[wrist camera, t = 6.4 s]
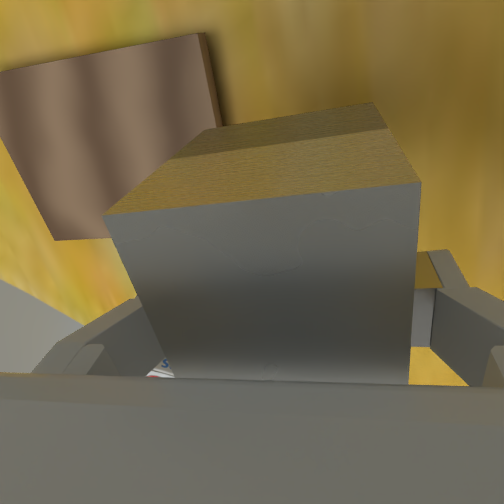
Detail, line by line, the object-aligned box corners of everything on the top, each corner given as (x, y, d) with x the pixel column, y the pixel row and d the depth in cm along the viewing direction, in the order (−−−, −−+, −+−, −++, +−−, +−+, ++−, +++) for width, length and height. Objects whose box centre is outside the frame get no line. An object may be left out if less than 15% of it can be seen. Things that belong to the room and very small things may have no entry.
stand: (210, 32, 24) (197, 33, 21) (244, 214, 31) (237, 231, 29) (0, 73, 28) (-31, 77, 26) (73, 225, 35) (54, 240, 33)
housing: (372, 102, 10) (421, 181, 5) (374, 317, 14) (401, 483, 9) (204, 129, 11) (101, 215, 6) (252, 319, 15) (214, 465, 10)
